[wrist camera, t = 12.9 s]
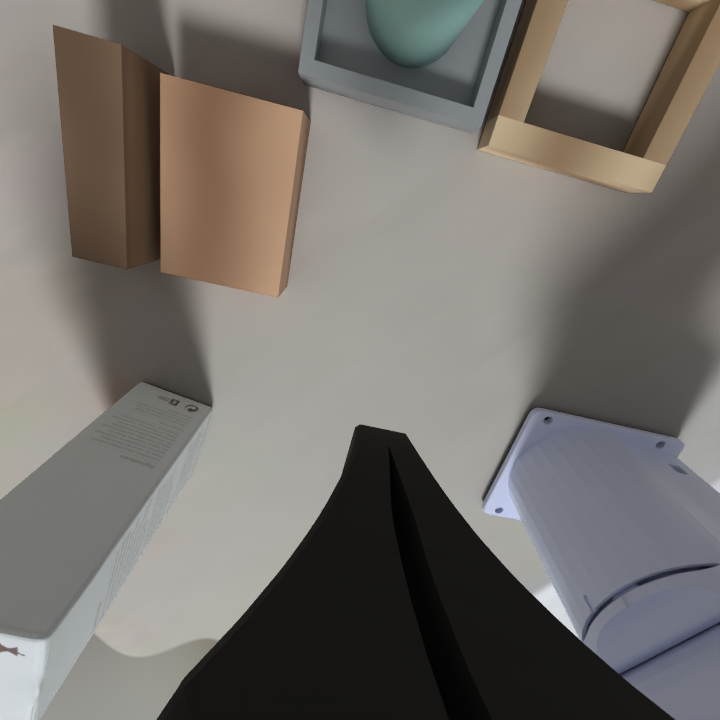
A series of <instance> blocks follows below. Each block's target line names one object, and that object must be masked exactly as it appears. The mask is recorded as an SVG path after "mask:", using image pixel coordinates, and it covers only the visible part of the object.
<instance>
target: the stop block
mask: <svg viewBox="0 0 720 720" xmlns="http://www.w3.org/2000/svg"><path fill="white" fill-rule="evenodd" d="M53 34H54V45H55V57H56V69H57V80H58V92H59V104H60V116H61V127H62V139H63V151H64V162H65V174H66V186H67V198H68V209H69V221H70V233H71V244H72V256H73V257H77V258H81V259H85V260H90V261H94V262H98V263H103V264H107V265H111V266H115V267H120V268H124V269H129V268H132V267H135V266H138V265H142V264H145V263H148V262H151V261H154V260H157V259H161V217H160V73H163V74H167V73H166V72H164V71H163V70H161V69H159V68H158V67H156V66H155V65H153V64H151V63H150V62H148V61H147V60H145V59H143V58H142V57H140V56H139V55H137V54H135V53H134V52H132V51H131V50H129V49H127V48H126V47H124V46H123V45H121V44H117V43H114V42H110V41H107V40H104V39H100V38H97V37H93V36H90V35H86V34H83V33H79V32H76V31H72V30H69V29H65V28H62V27H59V26H55V25H53ZM167 75H169V74H167Z"/></svg>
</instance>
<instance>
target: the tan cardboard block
mask: <svg viewBox="0 0 720 720" xmlns="http://www.w3.org/2000/svg"><path fill="white" fill-rule="evenodd" d="M309 129H310V120H309V119H308V117H307V116H306V114H305V113H304V111H302V110H298V109H295V108H291V107H287V106H283V105H280V104H276V103H272V102H268V101H265V100H261V99H257V98H253V97H250V96H246V95H242V94H238V93H235V92H231V91H227V90H223V89H219V88H216V87H212V86H208V85H204V84H201V83H197V82H193V81H189V80H186V79H182V78H178V77H174V76H171V75H167V74H163V73H160V217H161V272H163V273H167V274H172V275H176V276H181V277H186V278H190V279H195V280H199V281H204V282H208V283H213V284H218V285H222V286H227V287H231V288H236V289H241V290H245V291H250V292H254V293H259V294H264V295H268V296H273V297H277V298H278V297H279V296H280V294H281V293H282V292H283V291H284V290H285V288H286V287H287V283H288V276H289V269H290V262H291V255H292V248H293V241H294V234H295V227H296V220H297V213H298V206H299V199H300V192H301V185H302V178H303V171H304V164H305V157H306V150H307V143H308V136H309Z"/></svg>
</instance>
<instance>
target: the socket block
mask: <svg viewBox="0 0 720 720" xmlns="http://www.w3.org/2000/svg"><path fill="white" fill-rule="evenodd" d="M655 1H658V2H661V3H663V4H666V5H669V6H672V7H675V8H678V9H681V10H684V11H687V12H689V14H688V16H687V18H686V20H685V22H684V24H683V26H682V29H681V31H680V33H679V35H678V37H677V39H676V41H675V43H674V45H673V47H672V50H671V52H670V54H669V56H668V58H667V60H666V62H665V64H664V66H663V69H662V71H661V73H660V75H659V77H658V79H657V81H656V83H655V85H654V88H653V90H652V92H651V94H650V96H649V98H648V100H647V102H646V104H645V106H644V109H643V111H642V113H641V115H640V117H639V119H638V121H637V123H636V125H635V128H634V130H633V132H632V134H631V136H630V138H629V140H628V142H627V144H626V147H625V149H624V151H623V152H620V151H617V150H614V149H610V148H607V147H604V146H600V145H597V144H594V143H590V142H587V141H584V140H580V139H577V138H574V137H570V136H567V135H564V134H560V133H557V132H553V131H550V130H547V129H543V128H540V127H537V126H533V125H530V124H527V123H524V120H525V118H526V115H527V112H528V109H529V107H530V104H531V101H532V98H533V96H534V93H535V90H536V87H537V85H538V82H539V79H540V76H541V74H542V71H543V68H544V65H545V63H546V60H547V57H548V54H549V52H550V49H551V46H552V43H553V41H554V38H555V35H556V33H557V30H558V27H559V24H560V22H561V19H562V16H563V13H564V11H565V8H566V5H567V2H568V0H526V3H525V6H524V9H523V12H522V15H521V18H520V21H519V24H518V27H517V30H516V33H515V36H514V39H513V42H512V45H511V48H510V51H509V54H508V57H507V61H506V64H505V67H504V70H503V73H502V76H501V79H500V82H499V85H498V88H497V91H496V94H495V97H494V100H493V103H492V106H491V109H490V112H489V115H488V118H487V121H486V125H485V128H484V131H483V134H482V137H481V140H480V143H479V146H478V149H477V150H480V151H484V152H487V153H491V154H494V155H497V156H501V157H504V158H508V159H511V160H515V161H518V162H522V163H525V164H529V165H532V166H536V167H539V168H543V169H546V170H550V171H553V172H556V173H560V174H563V175H567V176H570V177H574V178H577V179H581V180H584V181H588V182H591V183H595V184H598V185H602V186H605V187H609V188H612V189H616V190H619V191H622V192H626V193H652V191H653V189H654V188H655V186H656V184H657V182H658V180H659V178H660V176H661V174H662V172H663V170H664V168H665V167H666V165H667V163H668V161H669V159H670V157H671V155H672V153H673V151H674V149H675V147H676V146H677V144H678V142H679V140H680V138H681V136H682V134H683V132H684V130H685V128H686V127H687V125H688V123H689V121H690V119H691V117H692V115H693V113H694V111H695V109H696V107H697V106H698V104H699V102H700V100H701V98H702V96H703V94H704V92H705V90H706V88H707V87H708V85H709V83H710V81H711V79H712V77H713V75H714V73H715V71H716V69H717V67H718V66H719V64H720V0H655Z"/></svg>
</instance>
